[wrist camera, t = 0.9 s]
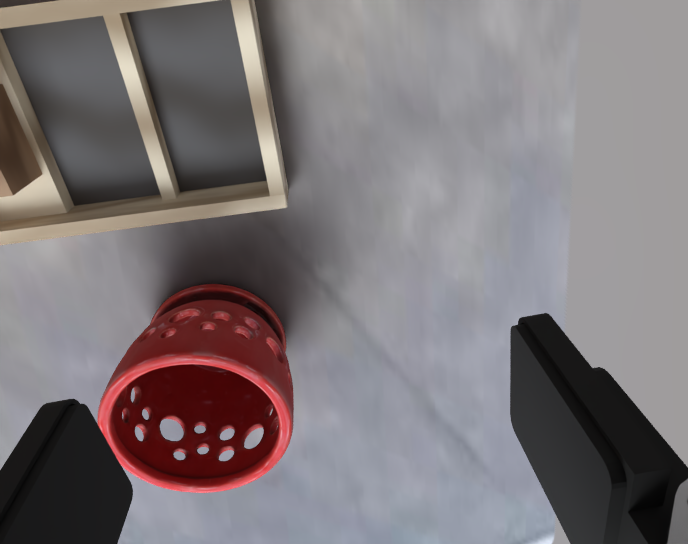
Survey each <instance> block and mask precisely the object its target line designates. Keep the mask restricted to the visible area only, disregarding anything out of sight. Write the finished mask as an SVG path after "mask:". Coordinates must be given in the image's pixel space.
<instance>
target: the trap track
mask: <svg viewBox="0 0 688 544" xmlns="http://www.w3.org/2000/svg"><path fill="white" fill-rule="evenodd" d="M0 84H3V86H4V88H5V90H6V93H7V95H8V97H9V99H10V102H11V104H12V106H13V108H14V111H15V113H16V115H17V117H18V120H19V122H20V124H21V126H22V129H23V131H24V133H25V135H26V138H27V140H28V142H29V144H30V147H31V149H32V151H33V153H34V156H35V158H36V160H37V163H38V165H39V167H40V169H41V172H42V175H41V176H40V177H38V178H37V179H35V180H34V181H33V182H31V183H30V184H29V185H27V186H26V187H24V188H23V189H22V190H20V191H19V192H17V193H16V194H15V195H13V196H6V197H0V245H6V244H14V243H21V242H29V241H37V240H44V239H52V238H60V237H67V236H75V235H83V234H90V233H98V232H105V231H113V230H121V229H128V228H136V227H144V226H151V225H159V224H167V223H174V222H182V221H190V220H197V219H205V218H213V217H220V216H228V215H236V214H243V213H251V212H258V211H266V210H274V209H281V208H287V203H288V191H289V189H288V183H287V178H286V172H285V167H284V161H283V156H282V150H281V145H280V139H279V134H278V128H277V122H276V117H275V111H274V106H273V100H272V95H271V89H270V84H269V78H268V73H267V67H266V61H265V56H264V50H263V45H262V39H261V34H260V28H259V23H258V17H257V12H256V6H255V0H58V1H50V2H42V3H35V4H27V5H20V6H12V7H4V8H0Z"/></svg>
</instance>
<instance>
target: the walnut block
mask: <svg viewBox="0 0 688 544" xmlns="http://www.w3.org/2000/svg"><path fill="white" fill-rule="evenodd" d="M41 175H42V172H41V169H40V167H39V165H38V163H37V160H36V158H35V156H34V153H33V151H32V149H31V147H30V144H29V142H28V140H27V138H26V135H25V133H24V131H23V129H22V126H21V124H20V122H19V120H18V117H17V115H16V113H15V111H14V108H13V106H12V104H11V102H10V99H9V97H8V95H7V93H6V90H5V88H4V86H3V84H0V197H6V196H13V195H15V194H16V193H17V192H19V191H20V190H22V189H23V188H24V187H26V186H27V185H29V184H30V183H31V182H33V181H34V180H35V179H37V178H38V177H40V176H41Z"/></svg>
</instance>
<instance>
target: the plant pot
mask: <svg viewBox="0 0 688 544" xmlns="http://www.w3.org/2000/svg"><path fill="white" fill-rule="evenodd" d="M285 351H286V337H285V333H284V329H283V326H282V324H281V322H280V320H279V318H278V317H277V315H276V314H275V312H274V311H273V310H272V309H271V308H270V307H269V306H268V305H267V304H266V303H265V302H264V301H263V300H261V299H260V298H258V297H257V296H255V295H254V294H252V293H250V292H248V291H245V290H242V289H240V288H237V287H233V286H228V285H222V284H205V285H198V286H193V287H190V288H187V289H184V290H182V291H180V292H178V293H176V294H174V295H173V296H171V297H170V298H168V299H167V300H166V301H165V302H164V303H163V304H162V305H161V306H160V308H159V309H158V310H157V312H156V313H155V315H154V317H153V318H152V321H151V323H150V325H149V326H148V327H147V328H146V329H145V330H144V331H143V333H142V334H141V335H140V336H139V337H138V338H137V339H136V340H135V341H134V342H133V344H132V345H131V346H130V347H129V349H128V350H127V352H126V354H125V355H124V357H123V358H122V360H121V361H120V363H119V364H118V366H117V368H116V370H115V371H114V373H113V375H112V377H111V379H110V381H109V383H108V385H107V387H106V389H105V392H104V394H103V396H102V398H101V401H100V405H99V409H98V426H99V428H100V430H101V431H102V433H103V435H104V437H105V438H106V440H107V442H108V444H109V445H110V447H111V449H112V451H113V452H114V454H115V456H116V458H117V459H118V461H119V463H120V465H122V466H123V467H124V468H125V469H126V470H128V471H129V472H130V473H132V474H133V475H135V476H137V477H138V478H140V479H142V480H144V481H146V482H148V483H151V484H153V485H156V486H159V487H163V488H167V489H171V490H176V491H183V492H197V493H207V492H218V491H224V490H229V489H233V488H237V487H240V486H242V485H245V484H247V483H250V482H252V481H254V480H256V479H258V478H260V477H261V476H262V475H264V474H265V473H267V472H268V471H269V470H271V469H272V468H273V467H274V466H275V465H276V464H277V462H278V461H279V460H280V459H281V457H282V456H283V454H284V453H285V451H286V449H287V447H288V445H289V442H290V439H291V436H292V430H293V410H294V408H293V385H292V378H291V373H290V369H289V363H288V360H287V356H286V354H285ZM133 388H134V391H135V399H134V402H133V403H132V401H131V391H132V389H133ZM272 408H273V411H272V414H271V415H270V412H271V410H272ZM143 409H146V410H147V411H148V414H149V419H148V420H145V419H144V418H143V416H142V410H143ZM122 411H123V415H124V417H123V419H122ZM163 419H173V420H175V421H177V422H178V423H179V424H180V425H181V426H182V428H183V430H184V435H183V438H182V439H181V440H180V441H170V440H167V439H165V438H164V437H163V436H162V434H161V431H160V423H161V421H162V420H163ZM198 425H202V426H204V427H205V428H206V431H205V432H204V433H200V434H198V433H196V432H195V431H194V428H195V427H196V426H198ZM136 426H137V427H139V428H140V429H141V430H142V432H143V435H144V439H143V441H139V440H138V439H137V437H136V436H135V427H136ZM277 426H278V427H277ZM262 427H263V429H264V434H263V437H262V439H261V441H260V443H259V444H258V445H257V446H256V447H254V448H252V449H246V448H244V442H245V439H246V437H247V436H248V435H249V433H251V432H252V431H253V430H255V429H257V428H262ZM228 428H232V429H234V431H235V433H234V435H233V437H232V438H231V439H229V440H225V441H224V440H221V439H220V434H221V432H222V431H224V430H226V429H228ZM200 447H207V448H209V451H208V453H206V454H199V453H198V452H197V449H198V448H200ZM226 450H233V451H234V455H233V457H232V458H231V459H229V460H228V461H220V460H219V456H220V454H221V453H222V452H224V451H226ZM177 451H180V452H183V453H184V454H185V456H186V458H185V459H184V460H177V459H176V458H174V455H173V454H174V452H177Z"/></svg>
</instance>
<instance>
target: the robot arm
mask: <svg viewBox="0 0 688 544" xmlns="http://www.w3.org/2000/svg"><path fill="white" fill-rule="evenodd" d="M510 415H511V422H512V426H513V429H514V431H515V434H516V436H517V438H518V440H519V442H520V444H521V446H522V448H523V450H524V452H525V454H526V456H527V458H528V460H529V462H530V464H531V466H532V468H533V470H534V472H535V474H536V476H537V478H538V480H539V482H540V484H541V486H542V488H543V490H544V492H545V494H546V496H547V498H548V500H549V502H550V504H551V506H552V508H553V510H554V512H555V514H556V516H557V518H558V520H559V521H560V523H561V526H562V527H563V530H564V532H565V533H566V536H567V537H568V540H569V542H570V543H571V544H688V467H687V466H686V465H685V464H684V463H683V461H682V460H681V459H680V458H679V457H678V455H677V454H676V453H675V452H674V451H673V449H672V448H671V447H670V446H669V445H668V443H667V442H666V441H665V440H664V439H663V437H662V436H661V435H660V434H659V433H658V431H657V430H656V429H655V428H654V427H653V425H651V423H650V422H649V421H648V419H647V418H646V417H645V416H644V415H643V413H642V412H641V411H640V410H639V409H638V407H637V406H636V405H635V404H634V403H633V401H632V400H631V399H630V398H629V397H628V395H627V394H626V393H625V392H624V391H623V389H622V388H621V387H620V386H619V385H618V383H617V382H616V381H615V380H614V379H613V377H612V376H611V375H610V374H609V373H608V372H607V371H606V370H605V369H603V368H600V367H598V368H592V367H591V366H590V365H589V363H588V362H587V361H586V360H585V358H584V357H583V356H582V355H581V353H580V352H579V351H578V350H577V348H576V347H575V346H574V345H573V343H572V342H571V341H570V340H569V338H568V337H567V336H566V335H565V333H564V332H563V331H562V330H561V328H560V327H559V326H558V325H557V323H556V322H555V321H554V320H553V318H552V317H551V316H550V315H549V314H547V313H544V314H538V315H533V316H527V317H522V318H520V319H519V321H518V325H515V326H512V327H511V386H510ZM132 496H133V489H132V485H131V482H130V480H129V479H128V477H127V475H126V473H125V472H124V470H123V468H122V466H121V465H120V463H119V461H118V459H117V458H116V456H115V454H114V452H113V451H112V449H111V447H110V445H109V444H108V442H107V440H106V438H105V437H104V435H103V433H102V431H101V430H100V428H99V426H98V424H97V423H96V421H95V419H94V417H93V416H92V414H91V412H90V410H89V409H88V407H87V406H86V405H85V404H80V403H79V402H78V401H77V400H75V399H68V400H62V401H57V402H51V403H46V404H44V405H43V406H42V407H41V408H40V409H39V411H38V413H37V414H36V416H35V417H34V419H33V420H32V422H31V423H30V425H29V427H28V428H27V430H26V431H25V433H24V434H23V436H22V437H21V439H20V441H19V442H18V444H17V445H16V447H15V448H14V450H13V452H12V453H11V455H10V456H9V458H8V459H7V461H6V462H5V464H4V466H3V467H2V469H1V470H0V544H117V543H118V540H119V537H120V534H121V531H122V528H123V525H124V522H125V519H126V516H127V513H128V510H129V507H130V504H131V501H132Z"/></svg>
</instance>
